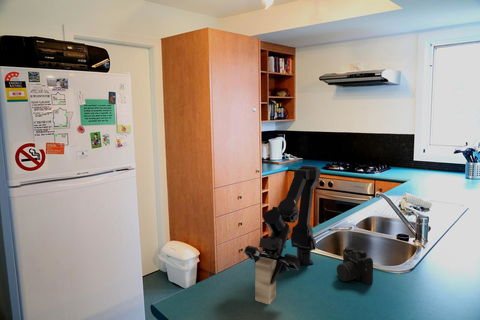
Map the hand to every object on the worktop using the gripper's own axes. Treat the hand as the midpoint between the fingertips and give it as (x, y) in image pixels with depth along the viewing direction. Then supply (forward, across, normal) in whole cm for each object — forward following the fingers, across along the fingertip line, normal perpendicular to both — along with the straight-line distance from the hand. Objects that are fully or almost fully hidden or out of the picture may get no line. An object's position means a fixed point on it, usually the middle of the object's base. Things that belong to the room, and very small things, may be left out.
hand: (263, 281), depth 117 cm
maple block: (+4, 0, +6) cm, 7 cm away
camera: (-17, +20, +27) cm, 37 cm away
